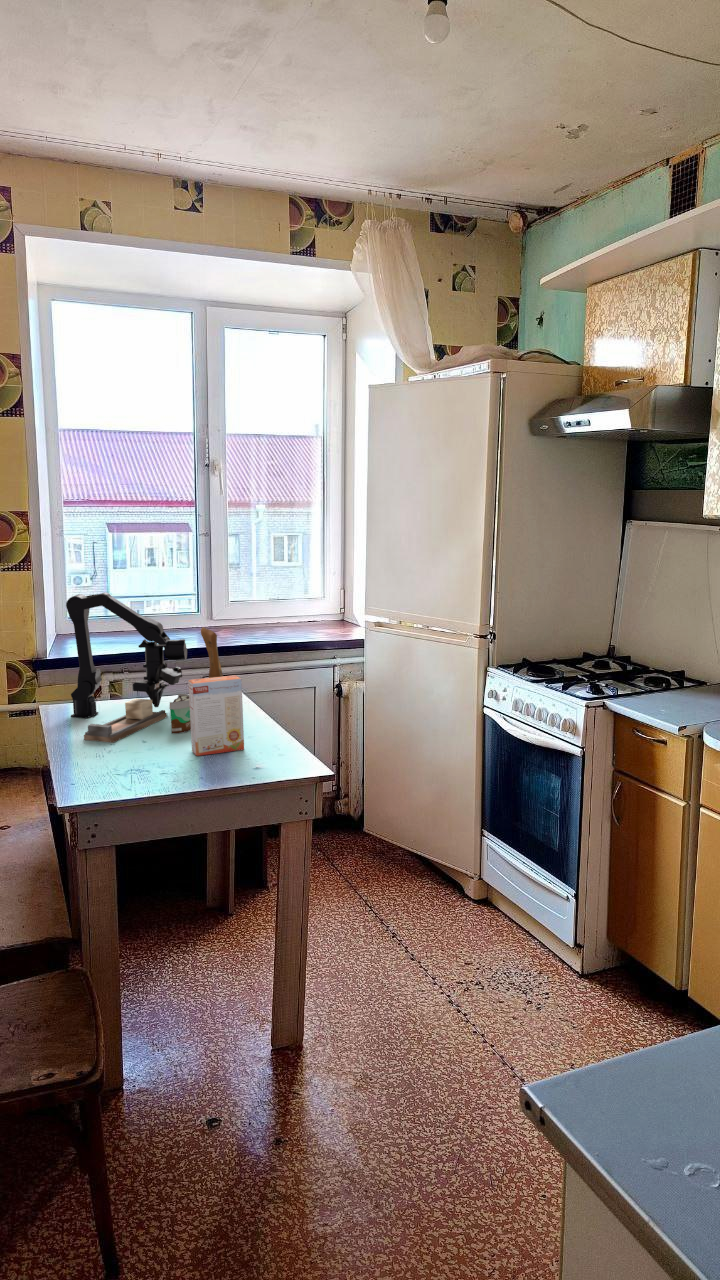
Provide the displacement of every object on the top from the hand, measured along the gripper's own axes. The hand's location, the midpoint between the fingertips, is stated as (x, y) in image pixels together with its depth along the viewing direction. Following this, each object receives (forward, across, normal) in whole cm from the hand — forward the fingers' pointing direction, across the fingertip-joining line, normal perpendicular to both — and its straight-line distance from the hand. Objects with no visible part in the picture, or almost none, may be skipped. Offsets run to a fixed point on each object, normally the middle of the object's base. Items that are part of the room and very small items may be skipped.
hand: (156, 707), depth 284 cm
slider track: (+2, -17, 0) cm, 18 cm away
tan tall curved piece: (+3, +9, -17) cm, 19 cm away
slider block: (+1, -10, 0) cm, 10 cm away
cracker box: (+3, -30, -38) cm, 49 cm away
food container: (+3, -13, -18) cm, 23 cm away
